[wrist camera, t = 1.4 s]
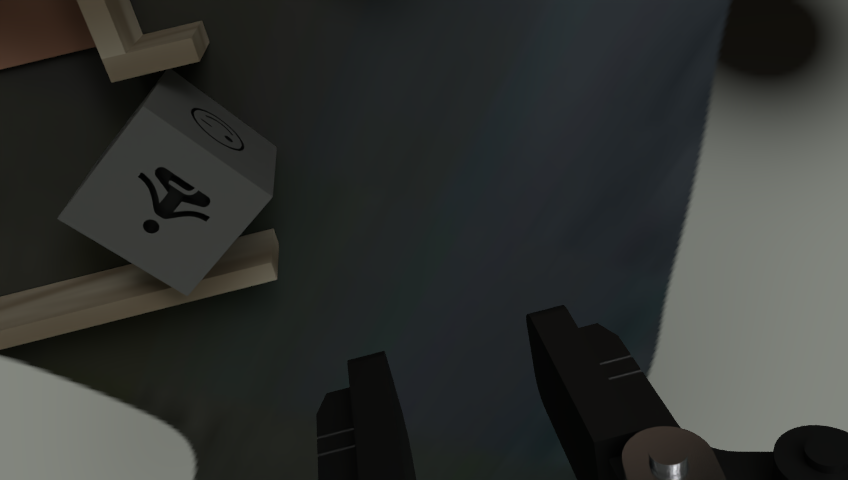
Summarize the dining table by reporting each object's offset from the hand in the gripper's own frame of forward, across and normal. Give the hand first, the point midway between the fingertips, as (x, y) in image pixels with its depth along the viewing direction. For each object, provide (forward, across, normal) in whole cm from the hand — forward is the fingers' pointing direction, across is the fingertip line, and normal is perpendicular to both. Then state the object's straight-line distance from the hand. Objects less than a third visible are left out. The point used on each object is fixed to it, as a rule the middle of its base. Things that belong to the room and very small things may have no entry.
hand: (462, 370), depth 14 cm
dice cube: (+17, +8, 0) cm, 19 cm away
